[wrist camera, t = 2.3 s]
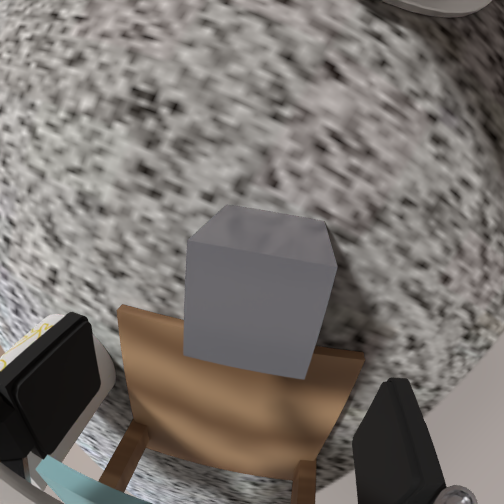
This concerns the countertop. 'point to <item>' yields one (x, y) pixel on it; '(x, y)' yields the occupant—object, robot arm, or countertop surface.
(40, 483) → the cup
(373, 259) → the countertop surface
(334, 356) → the frame
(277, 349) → the grey block
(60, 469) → the trapdoor
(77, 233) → the countertop surface
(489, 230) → the countertop surface
